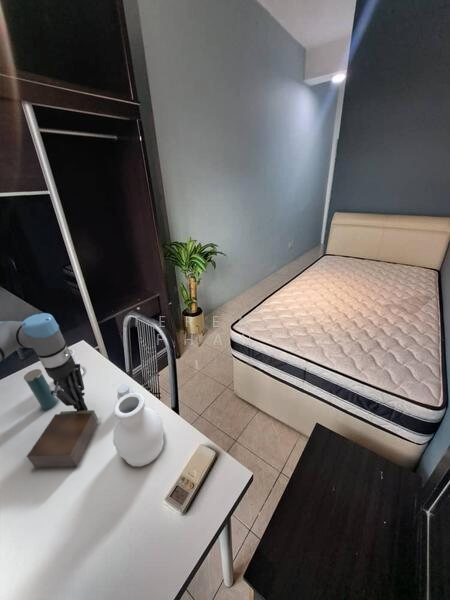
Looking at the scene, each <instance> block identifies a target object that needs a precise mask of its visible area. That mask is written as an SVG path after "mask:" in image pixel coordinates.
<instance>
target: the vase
mask: <svg viewBox="0 0 450 600" xmlns="http://www.w3.org/2000/svg"><path fill="white" fill-rule="evenodd" d="M113 413H114V416H115V417H116V418H117V419H118V420H117V422H116V425H115V426H114V429H113V435H112V436H113V437H112V438H113V439H112V443H113V446H114V447H115V450H116V452H117V454H118V455H119V456H120V457H121V458H122V459H123V460H125V462H126V463H127V464H129V465H130V466H132V467H144V466H146V465H148V464H150V463H151V462H153V461H154V460H155V459H157V457H158V456H159V455H160V453H161V452H162V449H163V446H164V433H165V432H164V425H163V419H162V416H160V415H159V413H158V412H157V411H156V410H154V409H153V408H150V407H148V406H146V402H145V397H144V396H143V394H141V393H138V392H133V393H130V394H126V395H125V396H123V397H121V398H120V399H119V400H118V399H117V401H116V402H115V404H114V405H113Z"/></svg>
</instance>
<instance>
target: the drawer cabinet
mask: <svg viewBox="0 0 450 600" xmlns="http://www.w3.org/2000/svg"><path fill="white" fill-rule="evenodd" d="M98 425H99V423H98V421H96V419H95V417H94V415H93V413H77V414H60V413H56V414H54V416H53V417H52V418H51V420H50V421H49V423H48V424H47V426H46V427H45V429H44V430H43V432H42V433H41V435H40V436H39V438H38V439H37V441H36V442H35V444H34V445H33V447H32V448H31V449H30V451H29V452H28V454H27V455H26V458H27V459H28V460H29V461H30V463H31V464H32V465H33V467H34V468H35V469H53V468H54V469H55V468H78V466H79V464H80V463H81V460H82V458H83V456H84V454H85V452H86V451H87V448H88V446H89V445H90V443H91V440H92V438H93V436H94V434H95V432H96V429H97V427H98Z"/></svg>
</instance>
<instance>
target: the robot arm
mask: <svg viewBox="0 0 450 600" xmlns="http://www.w3.org/2000/svg"><path fill="white" fill-rule="evenodd" d="M29 348H30V349H33V350H34V352H35V353H36V356H37V357H38V359H39V361H40V363H41V366H42V367H43V368H44V370H45V373H46V372H47V373H46V375H47V376H48V377H49V378H51V380H53V384H54V389H53V390H51V395H54V396H55V398H56V399H57V400H59V401H60V402H61V403H63V405H65V407H72V408H73V409H74V410H75V411H87V410H88V407H87V405H86V402H85V398H84V396H85V395H86V394H85V392H83V391H85V384H84V380H83V375H81V371H80V366H81V364H75V362H74V360H73V358H72V356H71V354H70V352H69V350H68V349H69V348H68V345H67V343H66V340H65V338H64V336H63V334H62V332H61V329H60V325H59V324H58V323H57V321H56V319H55V317H54V316H53V315H52V314H50V313H49V312H48V313H47V312H43V313H35V314H33V315H30V316H29V317H27V318H25V319H24V320H22V321H21V320H19V321H18V320H17V321H16V320H3V321H0V363H1V362H2V361H4V360H5V359H6V358H8V357H9V356H10V355H12V354H13V353H14V352H16V351H17V350H18V349H29Z"/></svg>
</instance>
